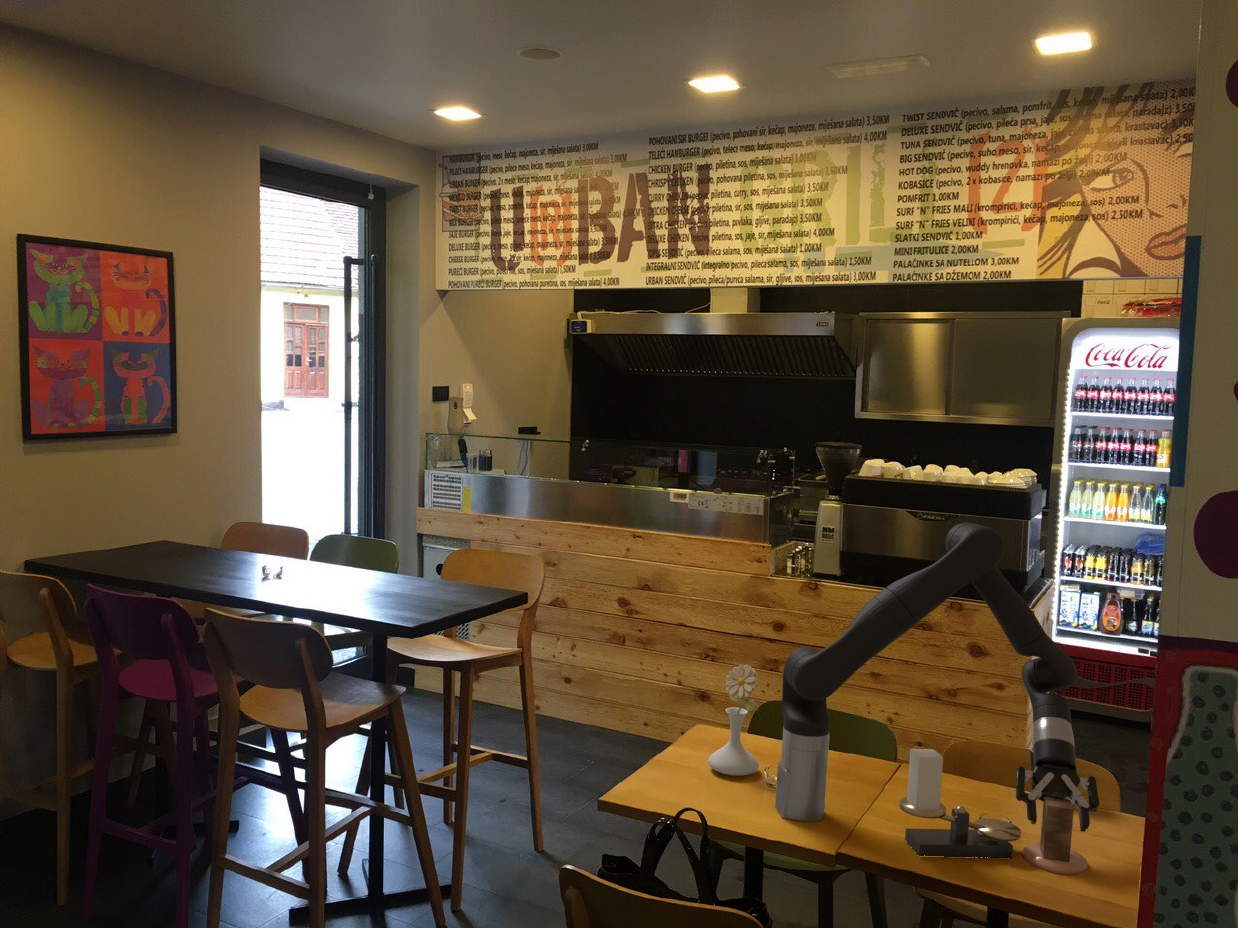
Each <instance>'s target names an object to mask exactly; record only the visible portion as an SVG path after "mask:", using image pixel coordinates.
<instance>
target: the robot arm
mask: <svg viewBox="0 0 1238 928" xmlns="http://www.w3.org/2000/svg"><path fill="white" fill-rule="evenodd" d="M944 545H945V550H946V554H945V555H943V556H942V557H941V558H939V559H938V560H937V561H935V562H934V563H932V564H931V565H929V566H927V567H924V568H922V569H920V570H918V571H915V572H913V573H910V574H909V575H906V576H904V577H902V578H900V579H897V580H896V581H894V582H892V583H890V584H889V585H887V586H886V587H885V588H883V589H882V590H881V591H880V592H878V593H877V594H876V595H875V596H873V597H872V598H871V599H870V600H868V601H867V602H866V604H864V606H863V607H862V608H861V609H860V611H859V612H858V613H857V615H856V616H855V618H854V619H853V621H852V622H851V623H850V625H849V626H848V628H847V629H846V630H845V631H844V633H842V634H841V636H839V637H838V638H837V639H836V640H835V641H833V642H832V643H831V644H829V645H828V646H826V647H825V648H823V649H822V650H817V649H816V648H812V647H808V646H806V647H800V648H796V649H795V650H794V651H792V652H791V653H790V654H789V655H788V657H787V659H786V660H785V663H784V668H783V672H782V673H783V674H782V688H781V689H782V691H781V692H782V693H781V694H782V696H781V709H782V710H781V712H782V717H783V727H782V742H781V759H780V760H778V762H777V773H776V784H775V785H776V787H775V801H774V802H775V803H774V806H775V809H776V810H777V811H778V813H779V815H780V816H781V818H783V819H791V820H793V821H794V820H795V821H799V822H816V821H819V820H822V819H823V818H824V815H825V807H826V806H825V805H826V804H825V803H826V792H827V791H826V790H827V777H828V760H829V759H828V758H829V747H830V733H831V732H830V731H831V719H830V715H829V711H828V705H827V698H830V696H832V695H833V694H834V693H835V692H836V691H838V689H839V688H841V687H842V686H843V684H845V683H846V681H848V680H849V678H851V677H852V676H853V675H854V674H855V673H856V672H857V671H858V670H859V669H860V668H861V667H863V666H864V665H865V664H866V663H867V662H869V661H870V660H871V659H872V658H874V657H875V656H876V655H878V654H879V653H881V652H882V651H883V650H885V648H887V647H888V646H890V645H891V644H893V642H895V641H897V640H898V639H899V638H900V637H902V636H903V635H904V634H905V633H907V632H909V630H911V629H912V628H913V627H915V626H916V625H917V624H918V623H920V621H922V620H923V619H924V618H925V617H926V616H928V615H929V614H931V613H932V612H933V611H934V610H936V609H937V608H938V607H939V606H941V605H942V604H944V602H946V601H947V600H948V599H949V598H950V597H952V596H953V595H954V594H955V593H957V592H959V591H960V590H961V589H963V588H964V587H966V586H967V585H969V584H972V585H973V587H974V588H975V590H976V591H977V592H978V594H979V595H980V597H981V598H982V599H983V601H984V602H985V604H986V605H987V607H988V609H989V610H990V611H991V614H993V616H994V617H995V619H996V622H997V623H998V624H999V627H1000V628H1001V630H1002V631H1003V632H1004V635H1005V637H1006V638H1007V640H1008V641H1009V643H1010V645H1011V646H1012V648H1013V650H1014V651H1015V652H1016V654H1018V655H1019V656H1021V657H1022V656H1023V657H1036V658H1033V659H1029V660H1027V661H1026V662H1024V664H1023V665H1022V668H1021V671H1020V672H1021V674H1020V675H1021V679H1022V681H1023V684H1024V686H1025V689H1026V692H1027V695H1028V697H1029V700H1030V703H1031V708H1032V740H1031V743H1032V747H1033V757H1034V770H1033V771H1031V769H1026V768H1025V767H1024V766H1022V765H1021V766H1018V769H1017V772H1016V783H1015V785H1016V787H1015V788H1016V789H1015V798H1016V801H1018V802H1023V803H1024V804H1025V805H1026V818H1027V820H1028V821H1030V824H1032V825H1036V824H1037V821H1038V819H1037V817H1038V816H1037V815H1038V814H1037V800H1039V798H1040V796H1041V795H1042V794H1043V793H1044V794H1046V795H1047V796H1049V797H1055V796H1056V797H1059V798H1063V800H1066V798H1067V800H1069V801H1070V802H1071V804H1072V805H1074V806H1075V807H1076V808H1077V809H1078V811H1079V812H1078V820H1079V831H1080V832H1082V833H1086V830H1088V829H1089V827H1090V824H1091V821H1090V812H1092V813H1093V812H1095V813H1096V812H1097V810H1098V808H1099V807H1100V799H1099V798H1100V797H1099V793H1098V786H1097V780H1096V777H1095V776H1092V775H1090V776H1088V777H1080V776H1079V774H1078V772H1077V771H1078V770H1077V761H1076V760H1077V759H1076V750H1075V748H1076V747H1075V737H1074V732H1073V729H1072V728H1073V727H1072V714H1071V706H1070V705H1071V704H1070V702H1069V700H1068V699H1067V698H1066V697H1064V696H1063V695H1060V694H1057V693H1050V692H1054V691H1058V690H1062V689H1067V688H1071V687H1072V686H1074V685H1075V684H1076V683H1077V681H1078V674H1079V673H1078V669H1077V668H1078V667H1077V666H1076V664H1075V662H1074V661H1073V659H1072V658H1071V657H1070V656H1069V655H1068V653H1067V652H1065V651H1064V650H1063V649H1062V648H1061V647H1060V646H1059V645H1058V644H1057V643H1056V642H1055V641H1054V640H1053V639H1052V638H1051V637H1050V636H1049V635H1048V634H1047V633H1046V632H1045V630H1044V628H1043V626H1042V625H1041V623H1040V621H1039V620H1038V618H1037V617H1036V615H1035V613H1034V611H1032V609H1031V607H1030V606H1029V605H1028V603H1027V602H1026V601H1025V600H1024V599H1023V597H1022V596H1021V595H1020V594H1019V593H1018V592H1017V591H1016V590H1015V588H1014V587H1013V586H1012V585H1011V584H1010V582H1009V581H1008V580H1007V579H1006V578H1005V576H1004V575H1003V573H1002V571H1001V570H1000V569H999V567H998V564H999V563H1000V562H1001V561H1002V559H1003V557H1004V554H1005V550H1006V549H1005V548H1006V544H1005V540H1004V538H1003V536H1002V535H1001V533H999V531H997V530H995V529H993V528H992V527H989V526H985V525H981V524H977V523H974V522H962V523H958V524H956V525H954V526H953V527H952V528H951V529H950V530H949V531H948V533H947V535H946V537H945V543H944ZM1031 777H1032V779H1033V780H1034V782H1035V783H1036V784H1037V786H1036V787H1035V788H1034V790H1033V791H1032V790H1031V791H1030V793H1027V792H1026V791H1025V787H1026V786H1025V785H1026V782H1028V781H1029V779H1031ZM1079 785H1081V786H1082V787H1083V789H1084V790H1085V791H1087V797H1088V800H1086V798H1085V797H1084V796H1083V795H1082V792H1081V791H1080V790H1079V789H1078V786H1079Z"/></svg>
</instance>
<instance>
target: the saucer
mask: <svg viewBox="0 0 1238 928" xmlns="http://www.w3.org/2000/svg"><path fill="white" fill-rule="evenodd" d="M1022 856H1023V858H1025V859H1024V860H1025V861H1026V862H1027V863H1029V864H1031V866H1034V867H1036V868H1038V869H1040V870H1043V871H1047V872H1050V873H1052V874H1053V873H1054V874H1060V875H1068V876H1071V875H1074V876H1076V875H1080V874H1084V873H1085V872H1086V871H1087V869H1088V860H1087V858H1086V857H1084V856H1083V855H1082V854H1081V853H1079V852H1077V851H1075V850H1073V849H1070V860H1069V862H1063V861H1057V860H1051V859H1045V858H1043V856H1042V853H1041V850H1040V842H1033V843H1031V842H1030V843H1028V844H1026V845H1024V847H1023V849H1022Z"/></svg>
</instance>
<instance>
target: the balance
mask: <svg viewBox="0 0 1238 928" xmlns="http://www.w3.org/2000/svg"><path fill="white" fill-rule="evenodd" d="M899 808H900V810H901V811H903V812H905V814H908V815H910V816H914V817H918V818H922V819H932V820H935V819H940V820H944V821H948V822H950V828H948V829H947V828H945V829H944V828H910V827H909V828H908V827H907V828H906V827H905V836H904V841H905V840H906V841H907V843H908V844H909V845H910V846H911V847H912V849H913V850H914V851H915V852H916V854H917V855H919V856H924V855H925V856H944V857H974V858H973V859H975V857H978V858H980V857H983V858H985V857H986V858H987V857H988V858H1010V859H1009V860H1012V859H1013V853H1014V852H1013V851H1014V845H1013V844H1012V843H1011V842H1016V841H1019V840H1021V837H1022V829H1020V828H1019V827H1018V826H1017V825H1016V824H1013V823H1011V822H1008V821H1005V820H1002V819H997V818H988V817H987V818H980V819H976V820H975V821H974V822H972V821H970V812H968V811H967V809H966V808H965V806H963V805H957V806H956V807H955V808H951V815H950V814H949V815H948V814H947V808H946V805H944V804H943V803H941V802H940V806H939V810H915V808H914V807H913V806H912V805H911V804H910V803H909V802H908V801H907V796H906V797H905V796H904V797H902V798H901V799H899ZM969 828H970V829H969ZM907 843H906V844H907ZM908 844H907V845H908ZM909 845H908V846H909ZM912 849H911V850H912ZM913 850H912V851H913ZM914 851H913V852H914ZM915 852H914V853H915ZM916 854H915V855H916ZM917 855H916V856H917Z"/></svg>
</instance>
